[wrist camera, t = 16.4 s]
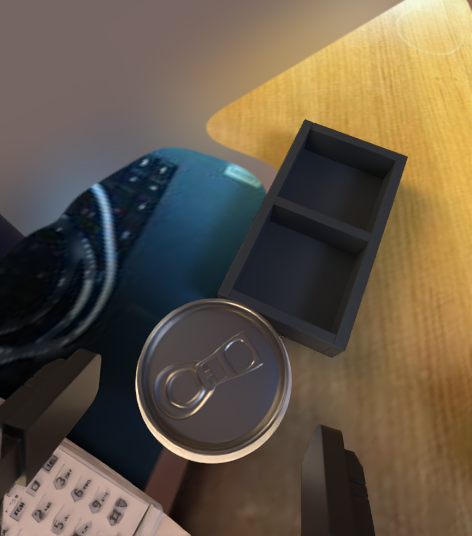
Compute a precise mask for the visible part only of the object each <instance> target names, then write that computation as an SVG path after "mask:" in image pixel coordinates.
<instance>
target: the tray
mask: <svg viewBox="0 0 472 536" xmlns="http://www.w3.org/2000/svg"><path fill="white" fill-rule="evenodd" d="M407 158H408V157H407V156H405V155H402V154H398V153H396V152H394V151H391V150H388V149H385V148H383V147H380V146H377V145H374V144H371V143H369V142H366V141H363V140H360V139H358V138H355V137H352V136H349V135H347V134H344V133H341V132H338V131H336V130H333V129H330V128H327V127H325V126H322V125H319V124H316V123H313V122H311V121H308V120H304V122H303V124H302V126H301V128H300V130H299V132H298V134H297V136H296V138H295V140H294V142H293V144H292V146H291V148H290V150H289V152H288V154H287V156H286V158H285V160H284V162H283V164H282V166H281V167H280V169H279V171H278V173H277V176H276V178H275V180H274V181H273V184H272V185H271V187H270V189H269V191H268V193H267V195H266V197H265V199H264V201H263V203H262V205H261V207H260V209H259V211H258V213H257V215H256V217H255V219H254V221H253V223H252V225H251V227H250V229H249V231H248V233H247V235H246V237H245V239H244V241H243V243H242V245H241V247H240V249H239V251H238V253H237V255H236V257H235V259H234V261H233V263H232V265H231V267H230V269H229V271H228V273H227V275H226V277H225V279H224V281H223V283H222V285H221V287H220V289H219V291H218V293H217V299H227V300H232V301H235V302H238V303H241V304H244V305H246V306H248V307H250V308H251V309H253V310H255V311H256V312H258V313H259V314H260V315H261V316H263V317H264V318H265V319H266V320H267V321H268V322H269V323H270V325H271V326H272V327H273V328H274V330H275V331H276V333H278V334H281V335H283V336H285V337H287V338H289V339H292V340H294V341H296V342H298V343H301V344H303V345H305V346H307V347H309V348H312V349H314V350H316V351H318V352H320V353H323V354H325V355H327V356H329V357H334V356H336V355H338V354H340V353H341V352H343V351H345V349H346V346H347V343H348V340H349V337H350V334H351V331H352V327H353V324H354V321H355V318H356V315H357V312H358V309H359V306H360V303H361V300H362V297H363V294H364V291H365V287H366V284H367V281H368V278H369V275H370V272H371V269H372V266H373V263H374V260H375V257H376V254H377V250H378V247H379V244H380V241H381V238H382V235H383V232H384V229H385V226H386V223H387V220H388V217H389V214H390V210H391V207H392V204H393V201H394V198H395V195H396V192H397V189H398V186H399V183H400V180H401V177H402V173H403V170H404V167H405V164H406V161H407Z"/></svg>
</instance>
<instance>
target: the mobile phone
mask: <svg viewBox="0 0 472 536" xmlns="http://www.w3.org/2000/svg"><path fill="white" fill-rule="evenodd" d="M4 401H6V400H4V399H2V398H1V397H0V405H1V404H2V403H3V402H4ZM2 536H191V535H190V534H188V533H187V532H186V531H185V530H184V529H182V528H181V527H180V526H179V525H178V524H176V523H175V522H174V521H173V520H172V519H171V518H169V517H168V516H167V515H166V514H164V513H163V507H162V505H161V504H160V503H158V502H157V501H155V500H154V499H152V498H151V497H150V496H148V495H147V494H145V493H144V492H142V491H141V490H139V489H138V488H137V487H135V486H134V485H133V484H132V483H131V482H129V481H128V480H126V479H125V478H124V477H122V476H121V475H119V474H118V473H117V472H115V471H114V470H112V469H111V468H110V467H108V466H107V465H105V464H104V463H102V462H101V461H100V460H98V459H97V458H95V457H94V456H92V455H91V454H89V453H88V452H86V451H85V450H83V449H82V448H80V447H79V446H77V445H76V444H74V443H73V442H71V441H70V440H68V439H67V438H65V439H64V440H63V441H62V443H61V444H60V445H59V446H58V448H57V449H56V450H55V452H54V453H53V454H52V455H51V457H50V458H49V459H48V461H47V462H46V463H45V464H44V466H43V467H42V468H41V470H40V471H39V472H38V473H37V475H36V476H35V477H34V479H33V480H32V481H31V482H30V484H29V485H28V486H27V488H26V487H24V486H21V485H18V484H15V483H14V484H13V485H12V487H11V488H10V489H9V490H8V492H7V493H6V494H5V501H4V516H3V530H2Z"/></svg>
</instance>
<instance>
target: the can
mask: <svg viewBox="0 0 472 536" xmlns="http://www.w3.org/2000/svg"><path fill="white" fill-rule="evenodd" d="M291 385H292V376H291V367H290V361H289V358H288V354H287V351H286V349H285V346H284V344H283V342H282V340H281V339H280V337H279V335H278V334H277V333H276V331H275V330H274V328H273V327H272V326H271V325H270V323H269V322H268V321H267V320H266V319H265V318H264V317H263V316H261V315H260V314H259V313H258V312H256V311H255V310H253V309H251V308H250V307H248V306H246V305H244V304H241V303H238V302H235V301H232V300H227V299H217V298H212V299H202V300H197V301H194V302H190V303H188V304H185V305H183V306H181V307H179V308H177V309H176V310H174V311H172V312H171V313H170V314H168V315H167V316H166V317H165V318H164V319H162V320H161V321H160V322H159V324H158V325H157V326H156V327H155V328H154V330H153V331H152V332H151V334H150V335H149V337H148V339H147V341H146V343H145V345H144V347H143V349H142V352H141V355H140V358H139V362H138V366H137V371H136V396H137V401H138V405H139V409H140V412H141V414H142V417H143V419H144V421H145V423H146V425H147V426H148V428H149V430H150V431H151V432H152V434H153V435H154V436H155V437H156V438H157V440H158V441H159V442H160V443H162V444H163V445H164V446H165V447H166V448H168V449H169V450H170V451H172V452H174V453H175V454H177V455H179V456H182V457H184V458H186V459H189V460H192V461H196V462H202V463H222V462H228V461H232V460H235V459H238V458H241V457H243V456H245V455H247V454H249V453H251V452H252V451H254V450H256V449H257V448H258V447H260V446H261V445H262V444H263V443H264V442H265V441H266V440H268V438H269V437H270V436H271V435H272V434H273V433H274V431H275V430H276V429H277V427H278V426H279V424H280V422H281V420H282V419H283V417H284V414H285V412H286V409H287V406H288V403H289V399H290V394H291Z"/></svg>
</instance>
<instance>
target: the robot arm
mask: <svg viewBox="0 0 472 536" xmlns="http://www.w3.org/2000/svg"><path fill="white" fill-rule="evenodd" d="M100 366H101V355H100V354H96V353H93V352H90V351H87V350H84V349H78V350H77V351H76V352H75V353H74V354H72V355H71V356H70V357H69V358H68V359H67V360H65V359H61V358H59V359H57V360H55V361H53V362H50V363H48V364H46V365H44V366H43V367H42V368H41V369H40V370H39V371H38V372H37V373H36V374H34V375H33V377H31V378H30V379H29V380H28V381H27V382H26V383H24V385H23V386H21V387H20V388H19V389H18V390H17V391H16V392H14V393H13V394H12V395H11V396H10V397H9V398H8V399H7V400H6V401H4V402H3V403H2V404H1V405H0V536H2V530H3V516H4V501H5V494H6V493H7V492H8V490H9V489H10V488H11V487H12V485H13V484H14V483H15V484H18V485H21V486H24V487H26V488H27V486H28V485H29V484H30V482H31V481H32V480H33V479H34V477H35V476H36V475H37V473H38V472H39V471H40V470H41V468H42V467H43V466H44V464H45V463H46V462H47V461H48V459H49V458H50V457H51V455H52V454H53V453H54V452H55V450H56V449H57V448H58V446H59V445H60V444H61V443H62V441H63V440H64V439H65V437H66V436H67V435H68V434H69V432H70V431H71V430H72V428H73V427H74V426H75V425H76V423H77V422H78V421H79V419H80V418H81V417H82V416H83V414H84V413H85V412H86V410H87V409H88V408H89V407H90V405H91V404H92V402H93V400H94V398H95V396H96V394H97V391H98V386H99V376H100ZM365 484H366V483H365V477H364V472H363V467H362V465H361V464H360V462H359V460H358V458H357V457H356V455H355V453H354V452H352V451H349V450H346V449H344V442H343V435H342V432H341V431H340V430H337V429H333V428H330V427H327V426H324V425H321V424H319V425H318V426H317V428H316V430H315V433H314V435H313V437H312V439H311V442H310V444H309V446H308V449H307V451H306V453H305V456H304V459H303V464H302V472H301V536H375V531H374V526H373V521H372V515H371V510H370V504H369V500H368V494H367V488H366V486H365Z"/></svg>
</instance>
